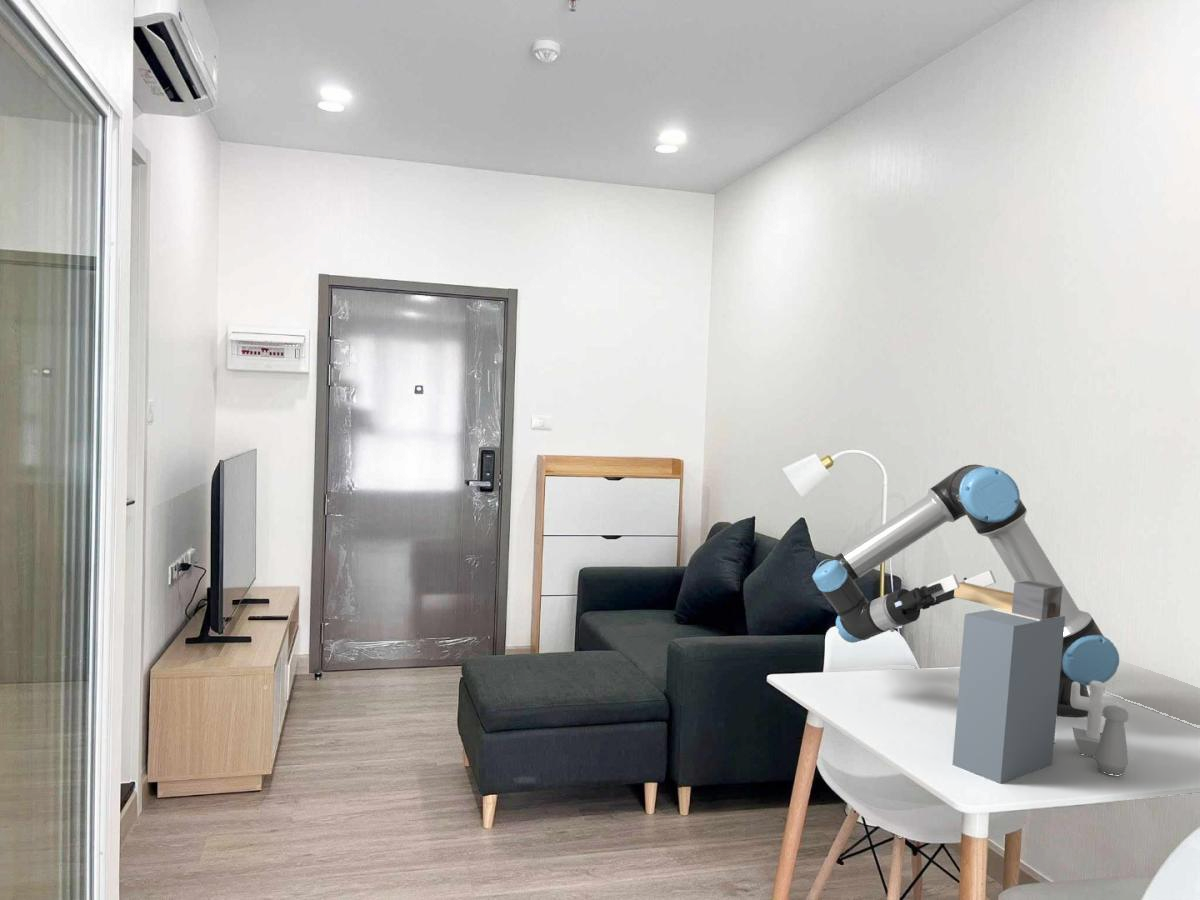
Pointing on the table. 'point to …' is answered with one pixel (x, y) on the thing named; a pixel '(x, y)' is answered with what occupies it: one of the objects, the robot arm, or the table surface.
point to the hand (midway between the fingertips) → (975, 578)
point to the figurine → (1090, 715)
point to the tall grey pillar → (1007, 693)
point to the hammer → (1017, 598)
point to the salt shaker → (1113, 742)
